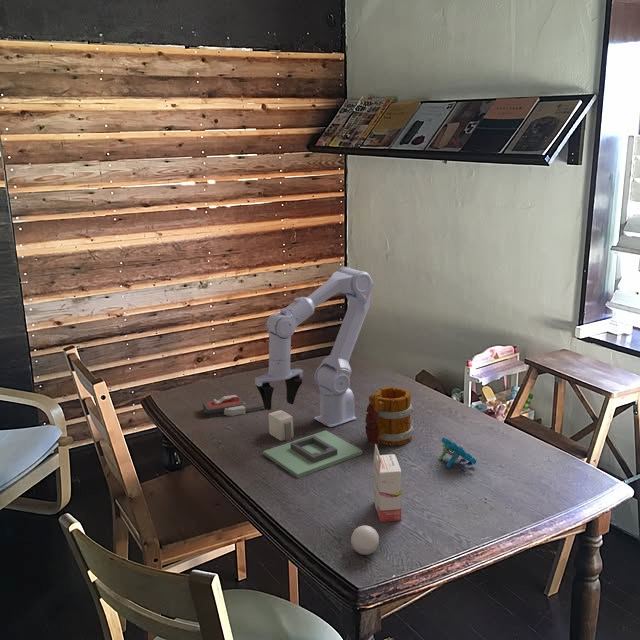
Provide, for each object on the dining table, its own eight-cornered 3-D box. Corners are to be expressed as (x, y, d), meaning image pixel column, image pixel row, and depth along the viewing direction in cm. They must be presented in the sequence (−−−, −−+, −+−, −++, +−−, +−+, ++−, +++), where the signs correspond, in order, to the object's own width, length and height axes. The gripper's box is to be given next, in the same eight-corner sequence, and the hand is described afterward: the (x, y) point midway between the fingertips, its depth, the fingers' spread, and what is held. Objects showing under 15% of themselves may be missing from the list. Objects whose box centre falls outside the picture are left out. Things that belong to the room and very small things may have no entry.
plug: (277, 427, 203) (276, 407, 201) (295, 438, 196) (294, 417, 194) (265, 431, 201) (264, 411, 199) (283, 442, 194) (282, 421, 192)
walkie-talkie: (205, 422, 209) (271, 410, 216) (204, 408, 208) (270, 396, 214) (199, 411, 217) (262, 400, 224) (197, 397, 215) (261, 387, 222)
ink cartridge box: (402, 521, 154) (402, 458, 150) (379, 522, 154) (379, 460, 150) (395, 500, 163) (395, 440, 159) (373, 502, 162) (372, 442, 158)
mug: (421, 436, 194) (421, 384, 190) (383, 457, 183) (383, 402, 179) (389, 425, 202) (389, 375, 197) (351, 445, 190) (350, 392, 186)
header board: (325, 433, 198) (325, 425, 197) (362, 454, 185) (362, 445, 184) (263, 454, 187) (263, 445, 186) (298, 478, 174) (297, 468, 173)
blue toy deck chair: (485, 464, 174) (458, 441, 171) (471, 484, 173) (444, 462, 170) (461, 451, 184) (435, 430, 181) (448, 470, 184) (421, 449, 180)
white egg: (382, 559, 141) (381, 534, 140) (353, 561, 141) (352, 536, 139) (375, 537, 149) (374, 513, 147) (348, 539, 148) (347, 515, 147)
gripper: (292, 350, 199) (291, 396, 203) (248, 358, 190) (248, 407, 194) (308, 356, 194) (307, 403, 197) (263, 365, 185) (263, 415, 188)
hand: (279, 406), depth 195 cm, fingers open, 7 cm apart
